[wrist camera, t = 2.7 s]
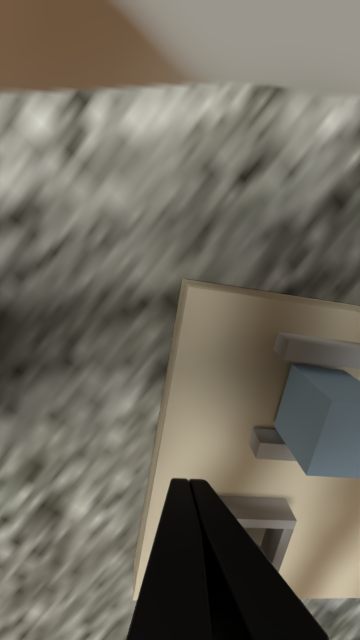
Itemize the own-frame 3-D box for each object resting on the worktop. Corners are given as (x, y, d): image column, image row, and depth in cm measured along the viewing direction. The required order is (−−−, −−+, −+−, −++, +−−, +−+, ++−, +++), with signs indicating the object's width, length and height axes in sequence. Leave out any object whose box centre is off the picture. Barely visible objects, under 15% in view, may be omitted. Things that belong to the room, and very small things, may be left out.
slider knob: (273, 425, 13) (306, 475, 10) (291, 363, 12) (332, 400, 10) (323, 429, 13) (366, 478, 11) (343, 369, 13) (396, 407, 10)
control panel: (134, 560, 18) (131, 629, 15) (182, 278, 13) (192, 293, 10) (422, 562, 21) (470, 620, 18) (543, 333, 16) (636, 357, 13)
